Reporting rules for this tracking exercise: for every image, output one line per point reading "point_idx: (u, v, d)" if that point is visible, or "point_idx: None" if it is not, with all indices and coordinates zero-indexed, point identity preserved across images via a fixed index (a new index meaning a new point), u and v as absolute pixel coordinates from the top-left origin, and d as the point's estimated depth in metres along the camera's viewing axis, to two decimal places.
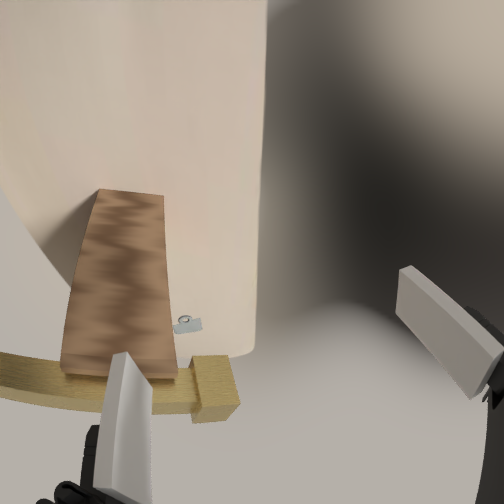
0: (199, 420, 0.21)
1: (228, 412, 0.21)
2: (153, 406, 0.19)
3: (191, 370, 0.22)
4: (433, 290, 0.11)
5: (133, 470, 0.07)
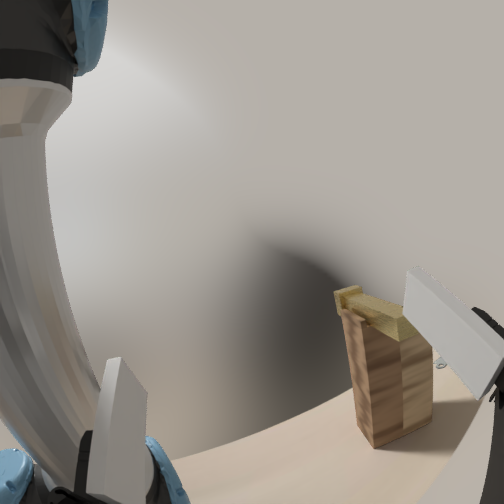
0: (356, 287, 0.50)
1: (344, 288, 0.52)
2: (355, 297, 0.46)
3: None
4: (441, 291, 0.10)
5: (126, 476, 0.07)
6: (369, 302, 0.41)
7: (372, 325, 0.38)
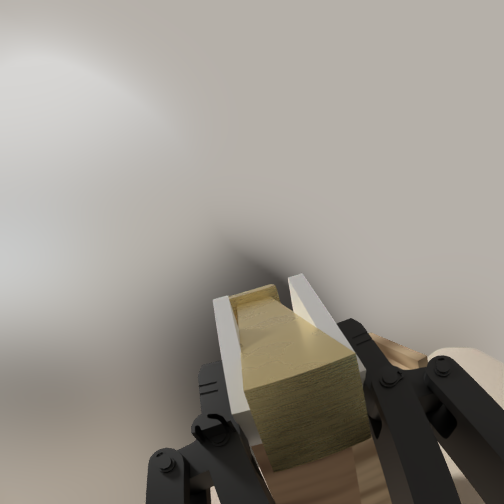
0: (265, 288, 0.26)
1: (247, 291, 0.28)
2: (248, 307, 0.22)
3: None
4: (311, 300, 0.12)
5: None
6: (256, 316, 0.17)
7: None
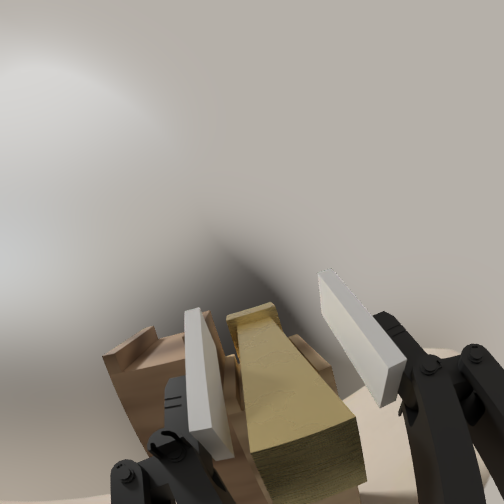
0: (264, 308, 0.26)
1: (246, 310, 0.28)
2: (249, 330, 0.22)
3: None
4: (344, 293, 0.12)
5: (219, 415, 0.09)
6: (258, 347, 0.17)
7: None
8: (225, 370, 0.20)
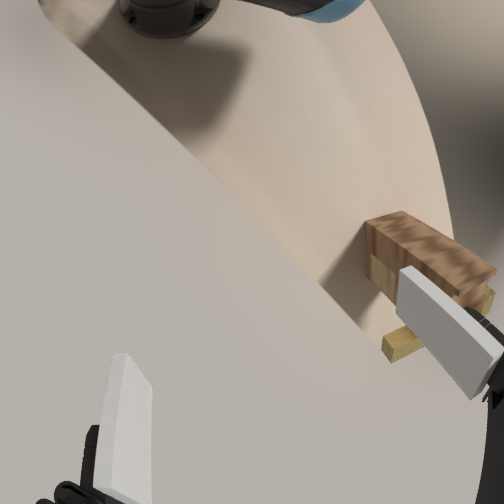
0: (482, 314, 0.36)
1: (491, 302, 0.35)
2: None
3: None
4: (433, 290, 0.11)
5: (133, 470, 0.07)
6: None
7: None
8: None
